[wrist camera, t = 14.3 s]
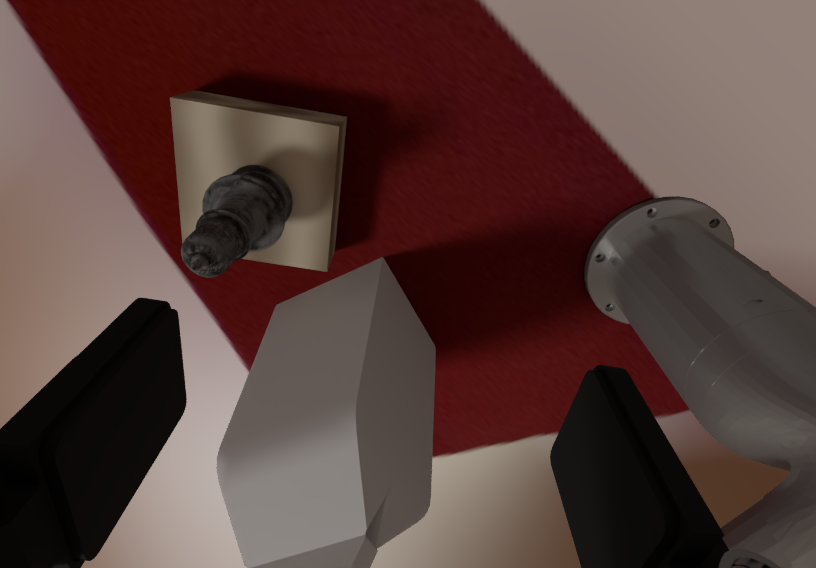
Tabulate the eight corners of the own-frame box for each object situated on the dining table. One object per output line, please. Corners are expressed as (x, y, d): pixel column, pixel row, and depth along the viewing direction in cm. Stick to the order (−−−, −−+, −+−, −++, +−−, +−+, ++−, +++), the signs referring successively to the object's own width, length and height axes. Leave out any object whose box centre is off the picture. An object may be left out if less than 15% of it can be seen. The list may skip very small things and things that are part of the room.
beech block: (347, 116, 37) (339, 126, 33) (334, 251, 43) (326, 271, 39) (194, 90, 36) (170, 97, 33) (202, 230, 42) (183, 249, 38)
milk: (382, 256, 43) (339, 518, 20) (435, 347, 48) (448, 638, 25) (276, 305, 46) (133, 581, 23) (336, 385, 51) (267, 677, 28)
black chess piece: (270, 148, 34) (203, 202, 24) (310, 216, 37) (266, 292, 26) (205, 180, 35) (115, 244, 25) (248, 244, 38) (183, 327, 28)
